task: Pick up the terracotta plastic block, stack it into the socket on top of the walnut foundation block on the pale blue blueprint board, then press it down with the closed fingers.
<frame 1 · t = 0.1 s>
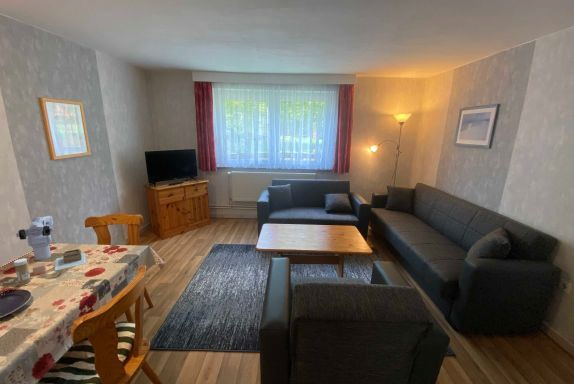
hand: (33, 235, 135), 22 cm above the table, tool horizontal, fingers open, 7 cm apart
terracotta block: (40, 273, 139), on the table
walnut foundation: (73, 258, 153), resting on blueprint board
blueprint board: (71, 262, 151), on the table
spice jar: (25, 284, 129), on the table
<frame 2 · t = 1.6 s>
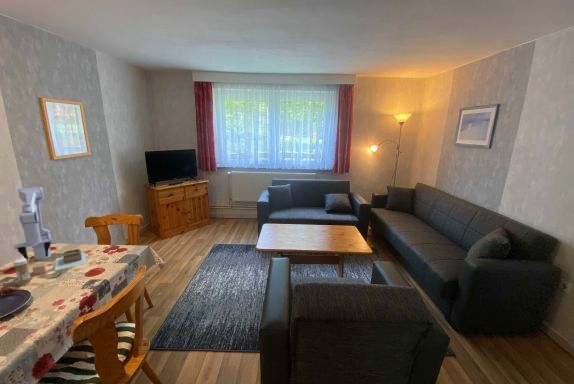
hand: (37, 257, 136), 9 cm above the table, tool pointing down, fingers open, 7 cm apart
nothing on the table moved.
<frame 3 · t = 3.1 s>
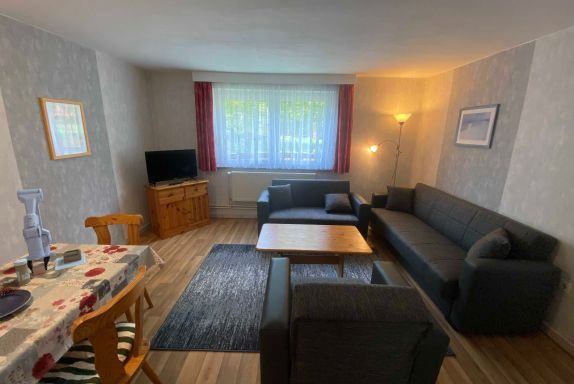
hand: (39, 271, 138), 1 cm above the table, tool pointing down, fingers closed on terracotta block, 5 cm apart
terracotta block: (40, 273, 139), on the table, touching gripper
everything else where it was.
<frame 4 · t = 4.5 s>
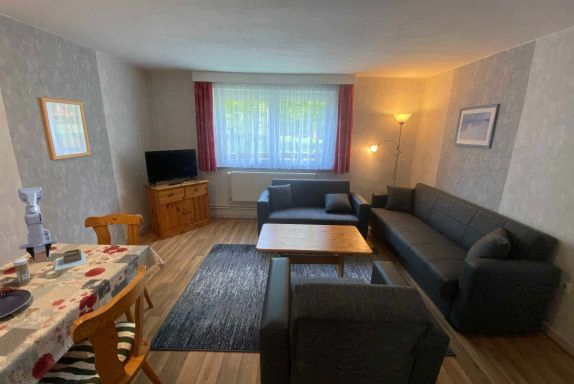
hand: (41, 258, 138), 8 cm above the table, tool pointing down, fingers closed on terracotta block, 5 cm apart
terracotta block: (42, 260, 139), point 7 cm above the table, touching gripper
everything else where it was.
when the fingers open (7 cm above the table, at t = 6.1 s): terracotta block stays where it is, resting on walnut foundation.
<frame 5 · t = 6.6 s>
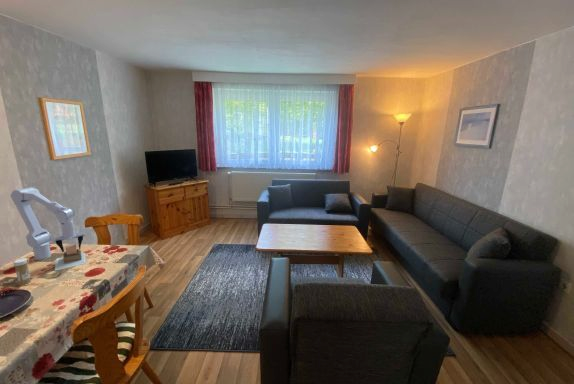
hand: (71, 250, 152), 7 cm above the table, tool pointing down, fingers open, 7 cm apart
terracotta block: (72, 253, 152), point 4 cm above the table, touching walnut foundation
everything else where it was.
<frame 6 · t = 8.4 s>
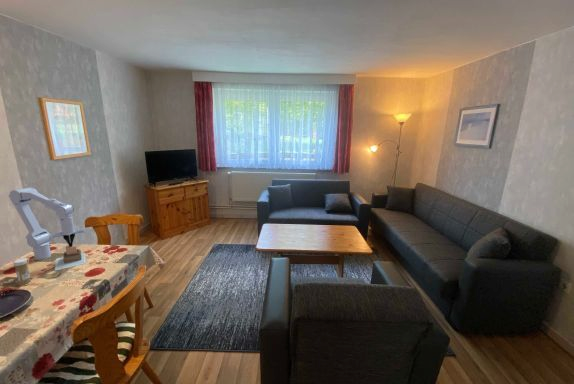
hand: (70, 246, 151), 9 cm above the table, tool pointing down, fingers closed, pressing on terracotta block
terracotta block: (72, 253, 152), point 4 cm above the table, touching gripper, walnut foundation
everything else where it was.
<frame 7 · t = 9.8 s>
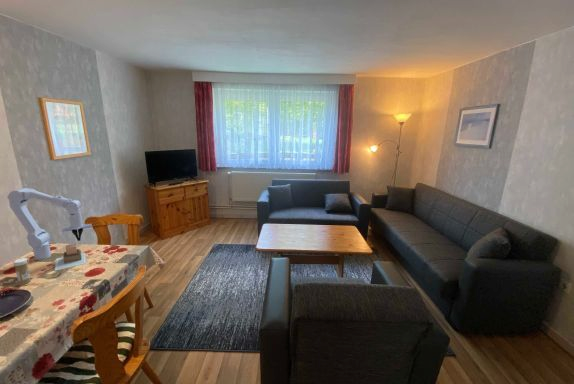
hand: (79, 240, 157), 10 cm above the table, tool pointing down, fingers closed
terracotta block: (72, 253, 152), point 4 cm above the table, touching walnut foundation
everything else where it was.
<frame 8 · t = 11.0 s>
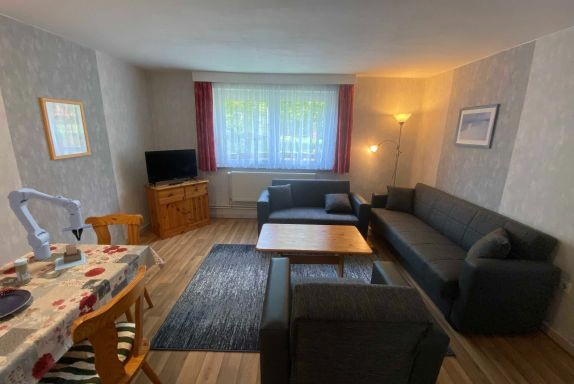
hand: (79, 240, 157), 10 cm above the table, tool pointing down, fingers closed
nothing on the table moved.
at the end: terracotta block 0.1 cm off-centre on the walnut foundation, point 3.5 cm above the walnut foundation's base; terracotta block tilted 0°; the gripper is holding nothing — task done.
